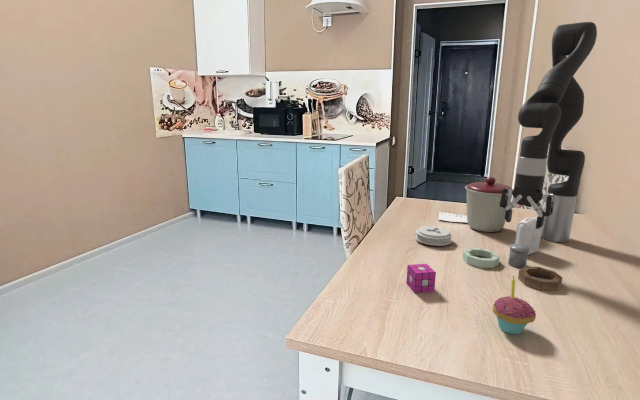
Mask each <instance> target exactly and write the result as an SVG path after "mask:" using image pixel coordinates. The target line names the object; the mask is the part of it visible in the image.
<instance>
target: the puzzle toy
mask: <svg viewBox="0 0 640 400" xmlns="http://www.w3.org/2000/svg"><path fill="white" fill-rule="evenodd" d="M406 267H407V268H406V281H405V282H406V283H405V284H406V285H407V286H408V288H410V290H411V291H412V292H413V293H414V294H417V293H419V294H420V293H431V292H433V293H434V292H435V288H436V274H437V272H436V271H435V270H434V269H433V268H432V267H431V266H430V265H429V264H428V263H418V264H407V266H406Z"/></svg>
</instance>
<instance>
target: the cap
mask: <svg viewBox="0 0 640 400" xmlns="http://www.w3.org/2000/svg"><path fill="white" fill-rule="evenodd" d="M528 252H529V247H527V246H525V245H521V244H515V243H511V244H510V245H509V255H508V263H507V265H509V266H510V267H513V268H517V269H522V268H523V267H527V261H528V256H529V255H528Z"/></svg>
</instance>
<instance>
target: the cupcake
mask: <svg viewBox="0 0 640 400" xmlns="http://www.w3.org/2000/svg"><path fill="white" fill-rule="evenodd" d="M515 285H516V279H515V276H514V275H512V279H511V291H510V292H511V293H510V295H509V296H503V297H499V298H498V299H496V300H495V301H494V304H493V306H492V312H493V314H494V315H496V318H497V322H498V327H499V328H500V330H502V331H503V332H505V333H507V334H510V335H520V334H522V333H523V331H524V330H525V328H526V326H527V325H528V324H530V323H534V321H535V320H536V319H537V318H536V317H537V314H536V310H535V309H534V307H533V306H531V305H530V303H529V302H528V301H526V300H523V299H522V298H519V297H515V290H516V289H515V287H516V286H515Z"/></svg>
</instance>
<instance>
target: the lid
mask: <svg viewBox="0 0 640 400" xmlns="http://www.w3.org/2000/svg"><path fill="white" fill-rule="evenodd" d="M415 233H416V236H415V240H416V241H417V242H419V243H422V244H425V245H429V246H436V247H437V246H441V247H442V246H448V245H450V244H451V243H452V236H453V233H452V232H451V231H450V230H449V229H447V228H445V227H443V226H442V227H440V226H435V225H423V226H421V227H418V228H417V229H416V230H415Z"/></svg>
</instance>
